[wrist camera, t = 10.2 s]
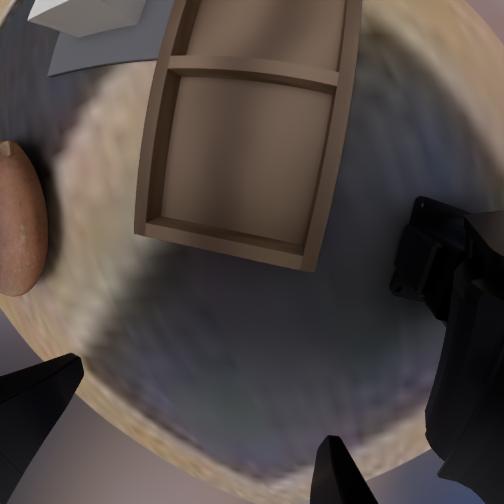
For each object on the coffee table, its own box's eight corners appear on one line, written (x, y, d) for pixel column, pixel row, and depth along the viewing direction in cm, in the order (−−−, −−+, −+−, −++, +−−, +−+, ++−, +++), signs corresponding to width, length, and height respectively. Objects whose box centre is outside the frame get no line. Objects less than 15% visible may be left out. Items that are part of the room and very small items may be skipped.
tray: (358, -26, 10) (363, -45, 8) (312, 258, 17) (314, 273, 15) (206, -39, 11) (196, -56, 9) (152, 224, 18) (133, 233, 16)
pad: (206, -58, 10) (205, -61, 10) (167, 59, 14) (164, 57, 14) (88, -29, 12) (86, -31, 11) (50, 76, 16) (47, 76, 15)
